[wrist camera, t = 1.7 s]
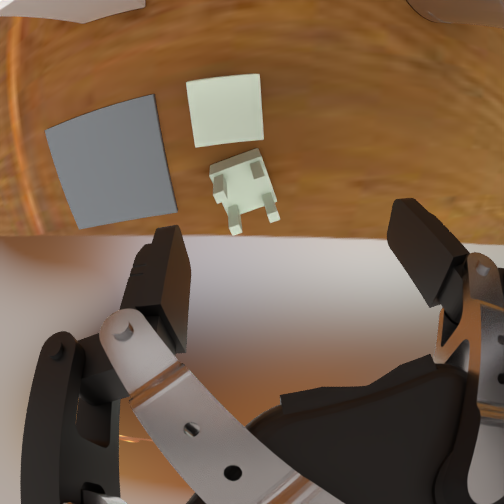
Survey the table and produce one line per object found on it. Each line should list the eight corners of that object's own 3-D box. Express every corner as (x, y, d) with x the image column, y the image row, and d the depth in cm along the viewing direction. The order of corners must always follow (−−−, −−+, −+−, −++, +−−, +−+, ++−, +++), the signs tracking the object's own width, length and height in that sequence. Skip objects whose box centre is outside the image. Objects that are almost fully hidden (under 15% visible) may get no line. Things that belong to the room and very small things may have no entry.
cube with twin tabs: (194, 79, 23) (185, 82, 17) (250, 72, 23) (259, 74, 17) (201, 128, 26) (195, 147, 21) (254, 122, 26) (263, 139, 21)
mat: (47, 129, 22) (44, 130, 22) (154, 93, 23) (153, 94, 22) (80, 226, 31) (79, 229, 31) (177, 209, 32) (177, 212, 31)
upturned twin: (210, 165, 29) (207, 192, 23) (257, 147, 28) (267, 170, 23) (228, 205, 32) (230, 239, 27) (272, 189, 32) (284, 221, 26)
